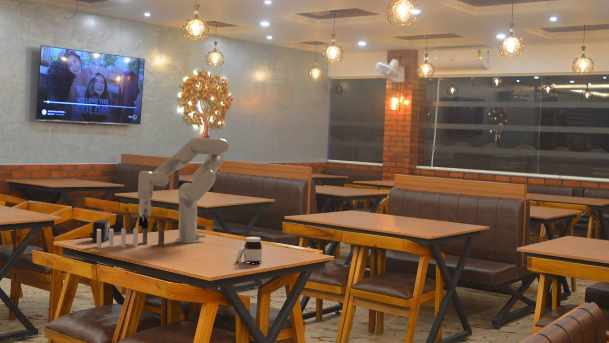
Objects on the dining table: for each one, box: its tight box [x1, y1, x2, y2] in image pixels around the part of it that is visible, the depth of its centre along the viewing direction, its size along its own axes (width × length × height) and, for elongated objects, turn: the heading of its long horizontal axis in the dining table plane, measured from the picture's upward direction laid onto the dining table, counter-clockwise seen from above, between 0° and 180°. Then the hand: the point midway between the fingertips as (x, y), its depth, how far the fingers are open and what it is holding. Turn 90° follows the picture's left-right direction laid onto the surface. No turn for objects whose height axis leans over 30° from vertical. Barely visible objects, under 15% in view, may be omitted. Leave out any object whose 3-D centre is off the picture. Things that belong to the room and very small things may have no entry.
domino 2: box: [108, 228, 115, 248], centre depth 361 cm, size 2×5×9 cm, turn 21°
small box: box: [91, 219, 111, 243], centre depth 379 cm, size 11×6×10 cm, turn 179°
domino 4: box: [132, 227, 139, 248], centre depth 366 cm, size 2×5×9 cm, turn 21°
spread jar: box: [235, 236, 263, 263], centre depth 331 cm, size 12×11×12 cm
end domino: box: [142, 229, 148, 245], centre depth 375 cm, size 2×5×9 cm, turn 21°
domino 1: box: [96, 229, 102, 249], centre depth 359 cm, size 2×5×9 cm, turn 21°
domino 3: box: [120, 228, 127, 248], centre depth 363 cm, size 2×5×9 cm, turn 21°
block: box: [157, 228, 165, 248], centre depth 370 cm, size 2×8×8 cm, turn 21°
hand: (143, 227), depth 374 cm, fingers open, 9 cm apart
